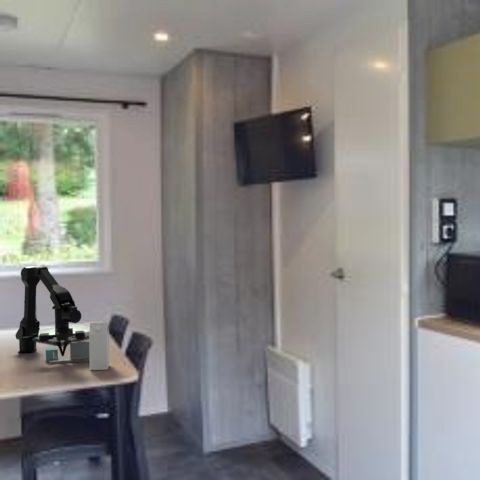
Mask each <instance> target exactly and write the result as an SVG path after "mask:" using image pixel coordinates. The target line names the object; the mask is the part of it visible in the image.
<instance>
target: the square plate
mask: <svg viewBox="0 0 480 480" xmlns="http://www.w3.org/2000/svg"><path fill="white" fill-rule="evenodd" d="M69 328H73V333H75V331H84V332H85V338H89V330H90V326H84V325H83V326H82V325H75V324H74V325H73V324H69ZM41 333H49V335H55V325H54V326H49V327H44V328H40V330H39V334H38V337H35V340H39V335H40V334H41ZM76 340H77V339H76V338H71V342H74V341H76ZM77 341H78V340H77ZM48 342H51V343H54V340H53V339H49V340H48ZM63 343H64V340H63V341H61V344H63Z"/></svg>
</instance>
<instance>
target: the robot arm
mask: <svg viewBox="0 0 480 480" xmlns="http://www.w3.org/2000/svg"><path fill="white" fill-rule="evenodd" d="M20 279H21V282H22V283H23V285H24V300H23V305H24V307H23V317H22V319H21V321H20V322H19V328H18V329H17V331H16V333H15V335H14V336H15V338H16V340H18V343H19V344H18V345H19V348H18V349H19V350H18V351H17V353H18V354H21V353H22V354H23V353H24V354H31V353H34V352H35V351H37V350H38V348H37V340H36V339H35V337H38V334H39V330H40V329H41V328H40V325H41V324H40V323H41V322H40V320H38V318H37V316H36V317H35V312H36V311H37V310H36V308H37V286H38V285H39V282H40V281H41V283H42V284H43V285H44V287H45V288H46V289H47V291H48V292H49V298H50V301H51V303H52V304H53V306H52V307H51V309H52V310H54V326H55V335H49V333H41V334H40V335H39V341H38V342H39V343H48V342H49V341H48V340H49V339H53V340H54V342H53V344H56V347H58V351H59V352H60V355H61V357H64V356H65V353H66V350H67V347H68V345H69V344H70V342H72V341H71V338H76V339H77V341H79V340H80V341H81V340H85V339H86V337H85V332H84V331H75V333H73V328H69V325H70V323H72V324H78V323H79V322H80V321H81V319H82V312H81V311H80V310H78V306H76V304H75V303H76V302H75V301H74V299H73V296H72V294H71V292H70V291H69V290H68V289H67V288H66V287H63V286H61V285H60V284H59V282H57V280H56V278H54V276H53V275H52V274H51V272H50V271H49V268H48V266H45V265H42V266H40V265H39V266H38V265H35V266H34V265H33V266H25V267H23V268H21V270H20ZM36 313H37V312H36ZM36 318H37V319H36ZM63 340H64V343H61V341H63ZM62 344H63V345H62Z"/></svg>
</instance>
